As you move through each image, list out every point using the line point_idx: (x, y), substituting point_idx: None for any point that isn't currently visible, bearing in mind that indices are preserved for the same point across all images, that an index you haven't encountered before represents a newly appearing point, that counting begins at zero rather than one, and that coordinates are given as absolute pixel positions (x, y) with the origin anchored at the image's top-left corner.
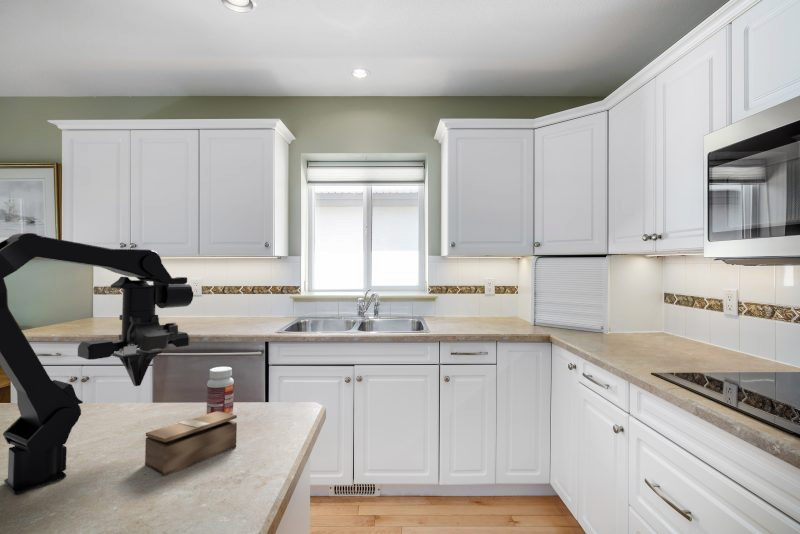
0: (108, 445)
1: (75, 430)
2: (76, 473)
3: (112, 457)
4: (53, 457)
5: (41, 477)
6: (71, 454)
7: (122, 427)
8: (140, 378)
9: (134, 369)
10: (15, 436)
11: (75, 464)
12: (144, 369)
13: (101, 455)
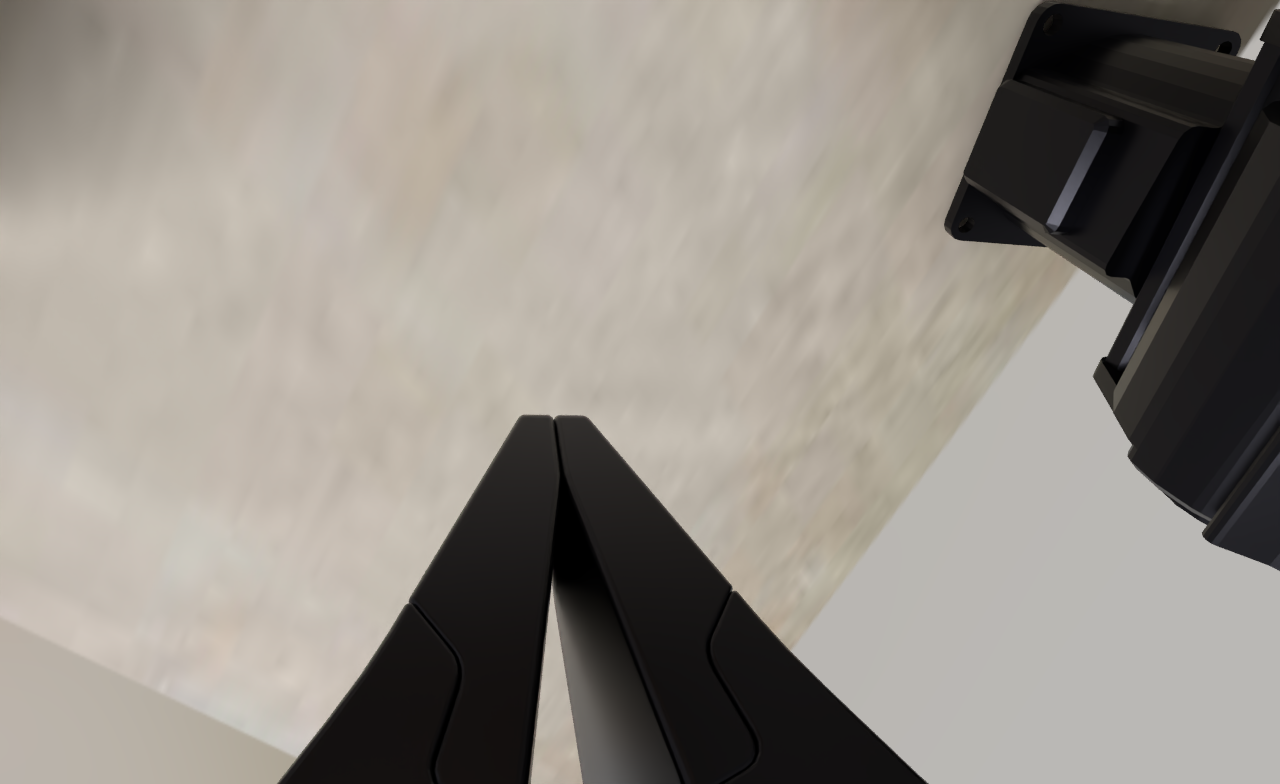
0: (632, 286)
1: None
2: (964, 22)
3: (731, 65)
4: (1176, 76)
5: (1164, 40)
6: (793, 327)
7: (447, 478)
8: (538, 477)
9: (723, 629)
10: None
11: (875, 170)
12: (477, 603)
13: (740, 168)
